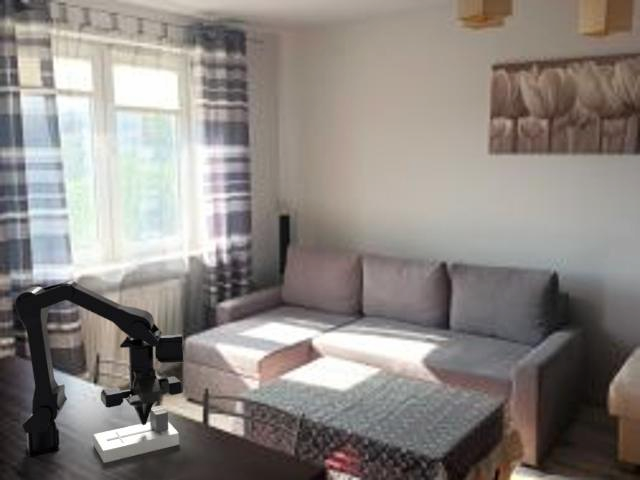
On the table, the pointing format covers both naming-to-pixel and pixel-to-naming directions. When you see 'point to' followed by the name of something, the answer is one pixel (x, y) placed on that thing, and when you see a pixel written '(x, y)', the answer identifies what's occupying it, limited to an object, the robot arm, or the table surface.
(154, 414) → the fader
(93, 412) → the table surface
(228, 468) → the table surface
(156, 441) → the console
